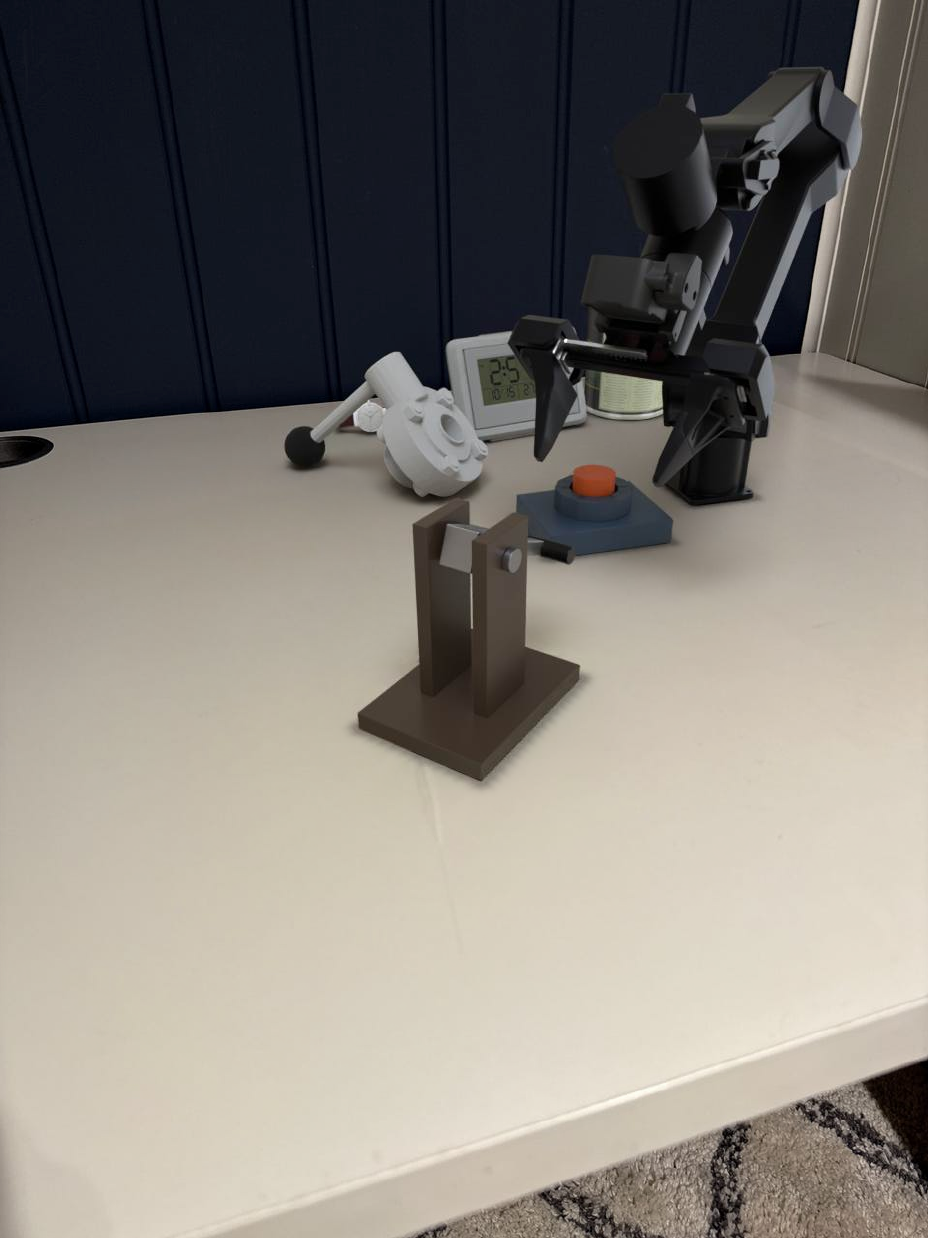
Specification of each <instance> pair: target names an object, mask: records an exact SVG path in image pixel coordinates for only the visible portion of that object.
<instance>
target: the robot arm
mask: <svg viewBox="0 0 928 1238" xmlns="http://www.w3.org/2000/svg"><path fill="white" fill-rule="evenodd" d="M696 111H697V110H696V104H695V99H694V95H693V92H692V93H691V92H690V93H663V94H662V96H661V98H660V101H659V102H658V105H657V106H656V107H652V108H650V109H649V110H646V111H643V112H642V113H640V114H639V115H637V116H636V117H634V118H633V119H632V120H631V121H630V122H628V123H627V124H626V125H625V126H624V127H623V129H622V130H619V132H618V133H617V134H616V136H615V138H614V140H613V144H612V149H611V151H612V152H611V155H612V157H611V158H612V161H613V163H614V166H615V170H616V172H617V175H618V178H619V181H620V184H621V187H622V189H623V192H624V195H625V198H626V199H625V200H626V202H627V204H628V207H629V210H630V213H631V216H632V219H633V223H634V225H635V226H636V228H638V229H639V230H640V231H642V232H643V233H645V234H647V237H646V239H645V242H644V244H643V246H642V249H641V252H640V254H639V257H633V256H622V255H609V254H593V255H591V257H590V260H589V261H590V262H589V265H588V269H587V274H586V278H585V282H584V286H583V291H582V294H581V300H580V303H579V304H580V306H581V307H583V308H586V309H587V308H588V309H589V308H591V309H592V310H594V311H595V312H597V313H598V314H597V317H596V319H595V322H594V324H595V326H596V328H597V330H598V332H599V333H605V335H606V339H605V341H604V344H599V343H592V342H587V341H585V340H580V339H579V336H578V335H577V332H576V333H575V331H576V330H575V331H574V329H575V328H574V329H573V327H574V326H573V325H572V323H571V322H570V319H565V318H557V317H549V316H540V315H533V314H528V315H525V316H522V317H520V318H519V319H518V320H517V321H516V323H515V324H514V326H513V329H512V330H511V331H512V334H511V336H510V338H509V341H508V343H507V344H508V345H509V347H510V348H511V350H512V351H513V353H514V354H515V356H516V358H517V359H518V361H519V362H520V364H521V365H522V367H523V368H524V370H525V371H526V373H527V374H528V376H529V378H530V379H531V380H533V381H535V392H536V413H535V434H534V436H533V457H534V458H535V460H536V461H537V462H540V463H543V462H544V461H545V459H546V458H547V457H548V455H549V453H551V451H552V449H553V447H554V445H555V443H556V441H557V439H558V438H559V435H560V433H561V431H562V429H563V428H564V427H563V425H564V422H565V420H566V418H567V416H568V414H569V412H570V410H571V408H572V406H573V404H574V402H575V400H576V398H577V396H578V394H577V393H576V391H575V389H574V387H573V386H574V385H575V384H577V383H579V382H580V381H581V379H583V376H584V375H585V370H591V371H598V372H604V373H611V374H617V375H623V376H630V377H636V378H643V379H649V380H656V381H662V402H663V414H662V418H663V421H662V422H663V427H666V428H672V430H671V432H670V434H669V436H668V438H667V441H666V442H665V445H664V447H663V449H662V452H661V454H660V456H659V458H658V461H657V464H656V467H655V470H654V472H653V475H652V484H653V486H654V487H655V488H658V489H659V488H662V487H663V486H664V485H665V484H666V485H667V486H668V487H670V488H671V489H672V490H673V491H675V493H677V494H678V495H679V496H681V497H682V498H683V499H684V500H686V501H687V502H688V503H689V504H691V505H704V504H711V503H718V502H719V503H720V502H724V501H725V502H727V501H734V500H741V499H749V498H750V499H751V498H753V497H754V494H755V492H754V490H753V489H751V488H750V487H748V486H747V485H746V484H747V483H746V482H747V476H748V469H749V463H750V456H751V450H752V444H753V442H754V441H755V440H756V439H764V438H768V436H769V435H770V434H769V433H770V426H771V422H772V421H771V420H772V410H773V402H774V399H775V395H776V387H777V386H776V381H775V375H774V371H773V367H772V365H773V364H772V361H771V357H770V354H769V352H768V350H767V348H766V347H765V345H764V344H763V343H762V338H763V336H764V333H765V331H766V328H767V327H768V323H769V321H770V318H771V316H772V313H773V310H774V308H775V305H776V303H777V300H778V298H779V296H780V293H781V291H782V288H783V285H784V283H785V281H786V278H787V276H788V273H789V271H790V268H791V265H792V263H793V260H794V258H795V256H796V253H797V250H798V248H799V245H800V242H801V241H802V238H803V235H804V233H805V230H806V228H807V226H808V223H809V220H810V218H811V216H812V214H813V213H814V212H815V211H817V210H818V209H820V208H821V207H822V206H824V205H825V204H827V203H828V202H829V201H831V200H832V199H833V198H835V197H837V195H838V194H839V192H840V190H841V188H842V187H843V183H844V182H845V180H846V177H847V176H848V173H849V171H850V170H854V169H855V167H856V165H857V162H858V160H859V156H860V153H861V149H862V148H861V147H862V141H863V128H862V127H863V126H862V121H861V114H860V107H859V106H858V104H857V103H856V102H855V101H853V99H851V98H850V97H849V96H847V95H846V94H845V93H844V92H843V91H841V90H840V89H839V88H837V87H836V86H835V81H834V76H833V73H832V70H830V69H825V68H824V67H823V66H806V67H805V66H803V67H802V66H801V67H779V68H778V69H776V70H775V71H769V73H768V74H767V76H766V78H765V81H764V83H763V84H762V85H761V86H759V87H758V88H757V89H756V90H754V91H753V92H752V93H751V94H750V95H748V96H747V97H746V98H745V99H744V100H743V101H741V102H740V103H739V104H738V105H736V107H734V108H733V109H732V110H730V111H729V112H728V113H726V114H723V115H716V116H709V117H699V115H698V114H697V112H696ZM758 204H759V205H758ZM757 205H758V207H757V210H756V212H755V215H754V216H753V219H752V221H751V224H750V227H749V230H748V232H747V234H746V236H745V239H744V240H743V244H742V246H741V248H740V251H739V253H738V256H737V258H736V261H735V263H734V266H733V267H732V271H731V273H730V275H729V277H728V280H727V282H726V285H725V287H724V289H723V292H722V295H721V297H720V299H719V302H718V305H717V307H716V309H715V311H714V314H713V315H712V317H710V318H709V319H707V316H706V313H705V309H704V308H705V306H706V304H707V301H708V298H709V296H710V293H711V290H712V289H713V286H714V283H715V280H716V278H717V275H718V273H719V271H720V268H721V266H727V265H728V264H729V261H730V253H731V251H730V242H731V240H732V237H733V234H734V232H733V226H732V223H731V220H730V218H729V216H728V214H727V213H726V211H739V212H742V211H743V212H750V211H752V210H754V209H755V207H756V206H757Z"/></svg>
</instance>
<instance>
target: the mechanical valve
mask: <svg viewBox="0 0 928 1238" xmlns="http://www.w3.org/2000/svg"><path fill="white" fill-rule="evenodd" d="M364 379H365V381H364V383H362V385H360V386H359V387H358V388H357V389H355V391H354V392H352V393H351V394H350V395H349V396H348V397H347V398H346V399H345V400H344V401H342V402H341V404H339V405H338V406H337V407H336V408H335V409H334V410H333V411H332V412H331V413H330V414H328V415H327V416H326V417H325V418H324V419H323V420H322V421H320V423H318V425H316V426H315V427H312V426H310V425H309V426H308V425H301V426H297V427H295V428H293V429H291V430H290V431H289V433H288V434H287V435H286V437H285V440H284V445H283V447H284V452H285V456H286V457H287V458H288V460H289V461H290V462H291V463H292V464H294V465H296V466H298V467H301V468H311V467H313V466H316V464H318V463H320V462H321V461H322V459H323V458H324V455H325V453H326V441H325V439H327V438H328V437H329V436H330V435H331V434H332V433H333V432H334V431H335V430H336V429H337V428H339V427H338V426H340V425H341V424H342V423H343V422H344V421H345V420H346V419H347V418H349V417H350V416H351V415H352V414H353V413H354V412H355V411H356V410H358V409H359V408H360V407H361V406H362V405H363V404H365V403H368V402H367V401H368V400H371V398H373V396H377V398H378V400H379V401H380V403H381V404H382V405H383V407H385V408H386V411H385V413H384V416H383V421H382V426H381V427H380V428H379V429H377V431H376V436H377V438H378V439H379V440H380V442H382V443H383V444H385V447H384V448H383V461H384V464H385V466H386V468H387V470H388V472H389V473H390V474H391V476H392V477H393V478H394V480H396V481H397V482H398V483H399V484H401V485H402V486H404V487H406V488H409V489H413V491H414V492H415V493H416V494H417V496H419V497H425V496H427V495H428V494H431V495H435V496H438V497H444V498H445V497H451V496H453V495H456V493H458V492H460V491H461V490H462V489H464V488H465V487H467V486H468V485H469V484H470V483H472V482H473V481H474V480H476V479H477V478H478V477H479V476H480V475H481V473H482V472H483V467H484V459H485V458H486V457H488V455H489V448H488V446H487V445H486V444H485V442H484V440H483V441H481V440H478V437H477V435H476V433H475V431H474V429H473V427H472V426H471V424H470V423H469V421H468V419H467V418H466V417H465V416H464V414H463V413H462V412H461V411H460V410H459V408H458V407H457V406H456V405H455V404H454V398H453V396H452V392H451V391H450V390H448V388H446V387H441V388H439V389H438V390H436V389H433V388H431V387H429V386H424V385H423V384H422V382H421V381H420V379H419V378H418V376H417V375H416V374H415V372H414V371H413V369H412V368H411V366H410V364H409V363H408V362H407V360H406V359H405V357H404V356H403V354H402V353H401V351H393V352H391V353H389V354H387V355H385V356H383V357H382V358H380V359H379V360H378V361H376V362H375V363H374V364H372V365H371V366H370V367H369V368H368V369H367V370H366V372H365V374H364Z"/></svg>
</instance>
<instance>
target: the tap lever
mask: <svg viewBox="0 0 928 1238" xmlns="http://www.w3.org/2000/svg"><path fill="white" fill-rule="evenodd" d="M488 529H489V528H487V527H484V526H481V525H477V524H472V523H470V524H447V525H446V530H445V535H444V540H443V546H442V551H441V556H440V561H439V564H440V565H442V566H445V567H449V568H452V569H455V570H459V571H462V572H465V573H469V574H470V575H472V540H473V539H475V538H476V537H478V536H479V535H481V534H482V533H484V532H485V531H487V530H488ZM575 553H576V550H575V548H574V547H573V546H569V545H565V544H561V543H558V542H554V541H550V540H546V539H542V538H539V537H535V536H531V535H530V534H528V544H527V558H528V557H529V558H530V557H539V558H543V559H546V560H550V561H553V562H557V563H561V564H564V565H568V566H569V565H571V564H573V562H574V560H575V557H576V556H575Z"/></svg>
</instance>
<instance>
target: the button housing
mask: <svg viewBox="0 0 928 1238" xmlns="http://www.w3.org/2000/svg"><path fill="white" fill-rule="evenodd" d="M572 489H573V474H570V475H568V476H565V477H563V478H561V479H559V480H557V482H556V484H555V486H554V489H552V490H550V489H549V490H543V491H534V492H527V493H526V492H525V493H519V494H516V508H515V509H516V510H515V511H516V512H515V513H518V514H522V515H526V516H528V534H529V535H531V536H535V537H539V538H542V539H546V540H550V541H554V542H558V543H561V544H565V545H569V546H573V547H574V548H575V550H576V553H575V557H576V556H577V557H578V556H583V555H591V554H597V553H605V552H611V551H619V550H627V549H634V548H640V547H647V546H654V545H662V544H669V543H672V535H673V534H672V533H673V526H674V525H673V524H674V519H673V517H671V516H670V515H669V514H668V513H667V512H666V511H665V510H663V508H661V507H660V506H659V505H658V504H657V503H656V502H654V501H653V500H652V499H651V498H649V497H648V496H647V495H646V494H645V493H644V492H643V491H642V490H641V489H639V488H638V487H637V486H636V485H635V484H634V483H633V482H632V481H630V480H626V479H624V478H621V477H618V476H616V478H615V491H614V494H611V495H609V496H601V497H591V496H582V495H579V494H577V493H574V492H573V490H572Z"/></svg>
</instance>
